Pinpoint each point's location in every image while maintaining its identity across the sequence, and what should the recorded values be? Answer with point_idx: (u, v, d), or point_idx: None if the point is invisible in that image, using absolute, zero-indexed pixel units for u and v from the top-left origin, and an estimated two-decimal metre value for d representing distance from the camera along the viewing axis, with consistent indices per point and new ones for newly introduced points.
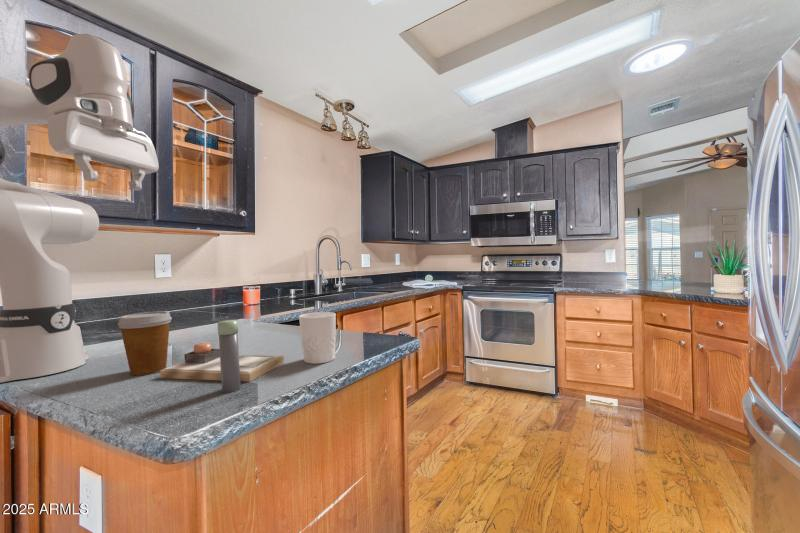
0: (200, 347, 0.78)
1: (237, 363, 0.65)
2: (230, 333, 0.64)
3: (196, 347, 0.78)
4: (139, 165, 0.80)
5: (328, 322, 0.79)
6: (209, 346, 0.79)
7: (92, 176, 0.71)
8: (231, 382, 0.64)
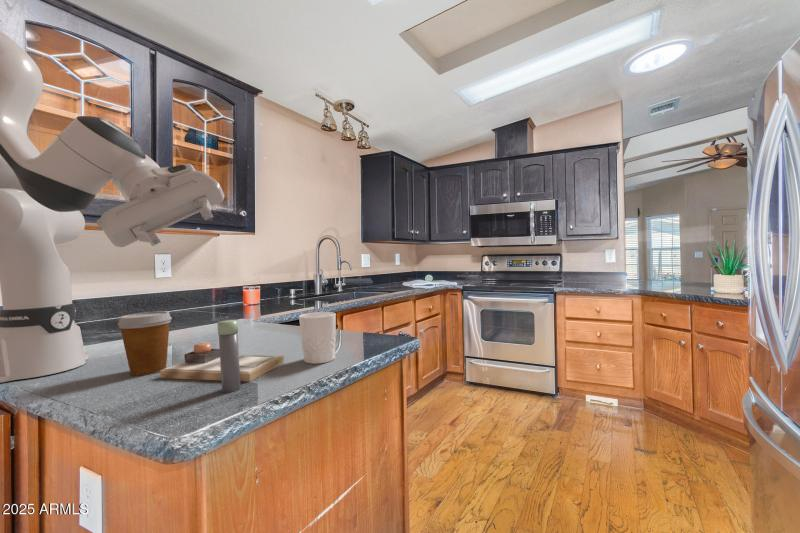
0: (200, 347, 0.78)
1: (237, 363, 0.65)
2: (230, 333, 0.64)
3: (196, 347, 0.78)
4: None
5: (328, 322, 0.79)
6: (209, 346, 0.79)
7: None
8: (231, 382, 0.64)
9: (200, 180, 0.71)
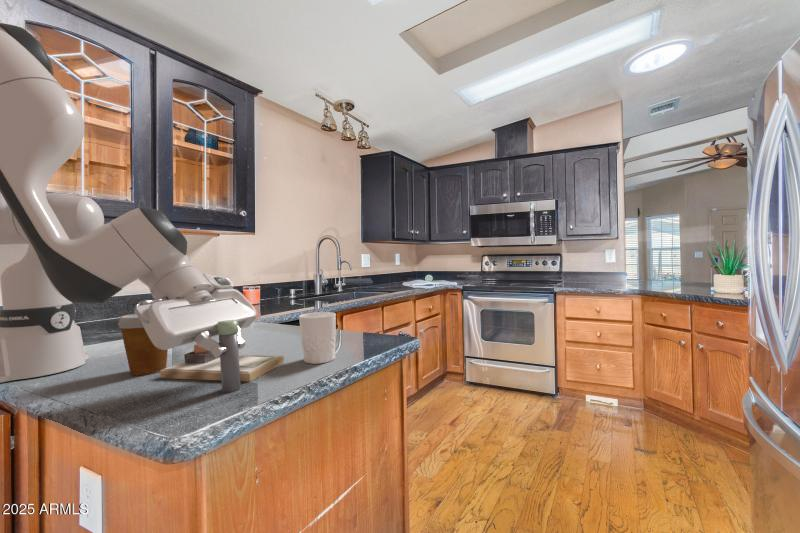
0: (200, 347, 0.78)
1: (237, 363, 0.65)
2: (230, 333, 0.64)
3: (196, 347, 0.78)
4: None
5: (328, 322, 0.79)
6: None
7: None
8: (231, 382, 0.64)
9: (240, 302, 0.74)
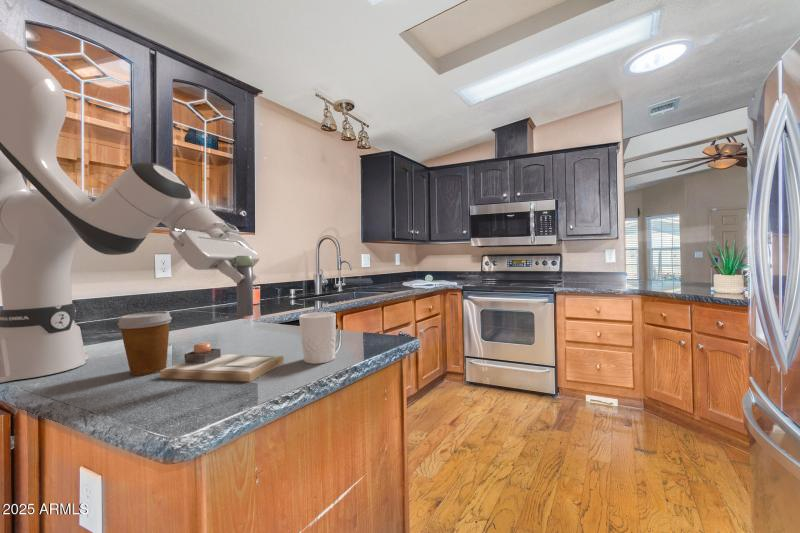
0: (200, 347, 0.78)
1: (252, 292, 0.75)
2: (248, 265, 0.74)
3: (196, 347, 0.78)
4: None
5: (328, 322, 0.79)
6: (209, 346, 0.79)
7: None
8: (247, 308, 0.74)
9: (245, 246, 0.84)
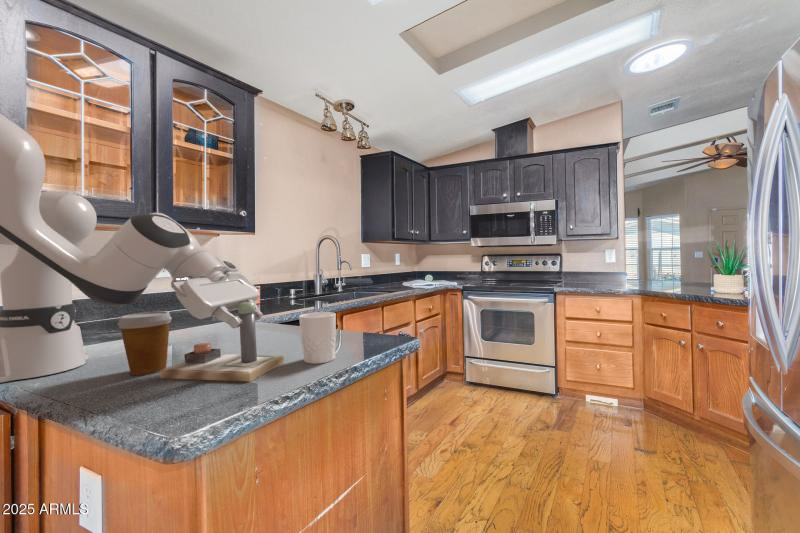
0: (200, 347, 0.78)
1: (255, 338, 0.77)
2: (250, 312, 0.76)
3: (196, 347, 0.78)
4: None
5: (328, 322, 0.79)
6: (209, 346, 0.79)
7: None
8: (251, 354, 0.76)
9: (245, 283, 0.85)
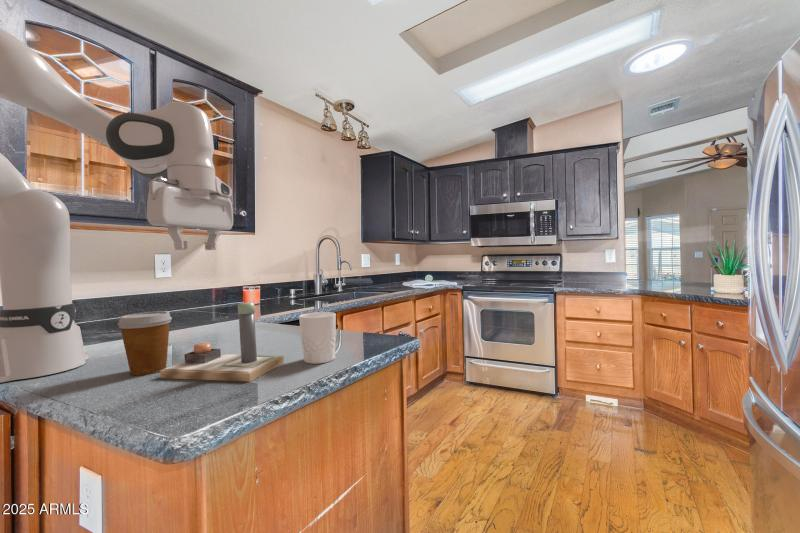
0: (200, 347, 0.78)
1: (255, 338, 0.77)
2: (250, 312, 0.76)
3: (196, 347, 0.78)
4: None
5: (328, 322, 0.79)
6: (209, 346, 0.79)
7: None
8: (251, 354, 0.76)
9: (226, 212, 0.86)
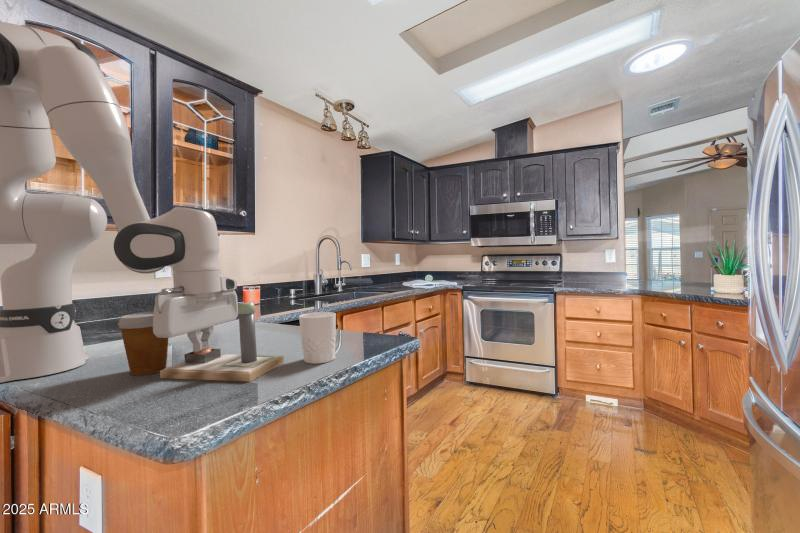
0: (200, 352, 0.78)
1: (255, 338, 0.77)
2: (250, 312, 0.76)
3: (196, 352, 0.78)
4: None
5: (328, 322, 0.79)
6: (209, 351, 0.79)
7: None
8: (251, 354, 0.76)
9: (231, 304, 0.86)
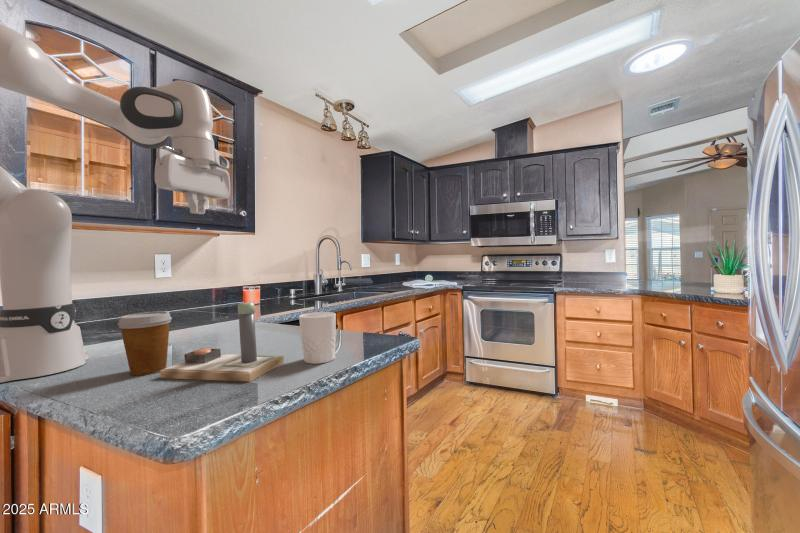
0: (200, 353, 0.78)
1: (255, 338, 0.77)
2: (250, 312, 0.76)
3: (196, 353, 0.78)
4: None
5: (328, 322, 0.79)
6: None
7: None
8: (251, 354, 0.76)
9: (224, 182, 0.96)
